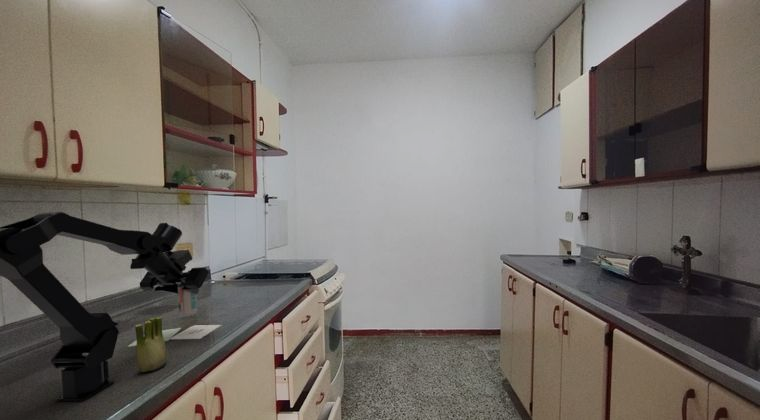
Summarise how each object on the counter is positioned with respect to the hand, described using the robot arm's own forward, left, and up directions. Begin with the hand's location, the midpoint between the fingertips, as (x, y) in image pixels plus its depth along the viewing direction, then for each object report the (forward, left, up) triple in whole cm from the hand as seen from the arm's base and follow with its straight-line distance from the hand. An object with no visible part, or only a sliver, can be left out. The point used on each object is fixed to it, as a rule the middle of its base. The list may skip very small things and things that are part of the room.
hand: (190, 292), depth 94 cm
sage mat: (-4, +9, -12) cm, 16 cm away
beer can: (-1, 0, -7) cm, 7 cm away
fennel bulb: (-22, -7, -12) cm, 26 cm away
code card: (-1, -2, -12) cm, 12 cm away
